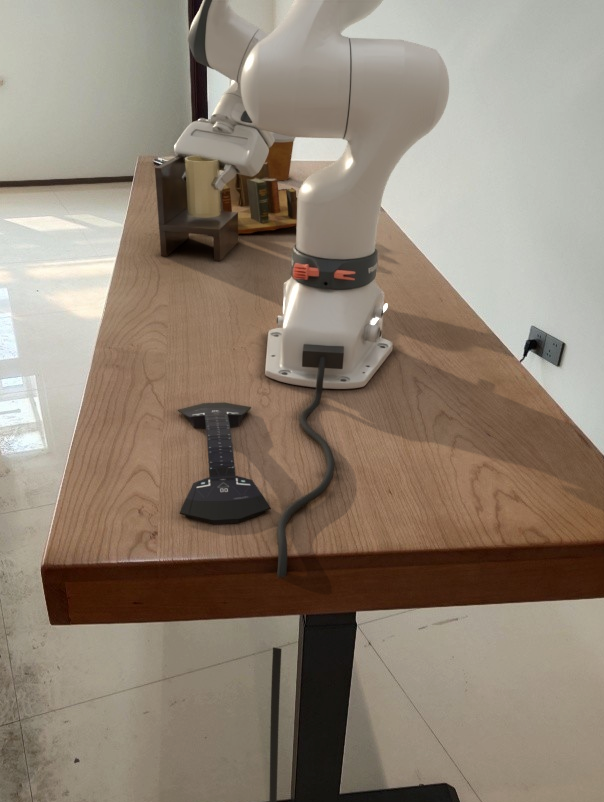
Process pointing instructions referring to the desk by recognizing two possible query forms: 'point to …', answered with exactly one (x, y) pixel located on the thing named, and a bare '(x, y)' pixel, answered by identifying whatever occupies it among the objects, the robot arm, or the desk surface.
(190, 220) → the dark grey toy chair
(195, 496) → the dark piece
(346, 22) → the robot arm
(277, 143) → the disposable coffee cup
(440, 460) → the desk surface
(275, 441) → the desk surface
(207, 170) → the cup
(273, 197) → the book stand
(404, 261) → the desk surface
